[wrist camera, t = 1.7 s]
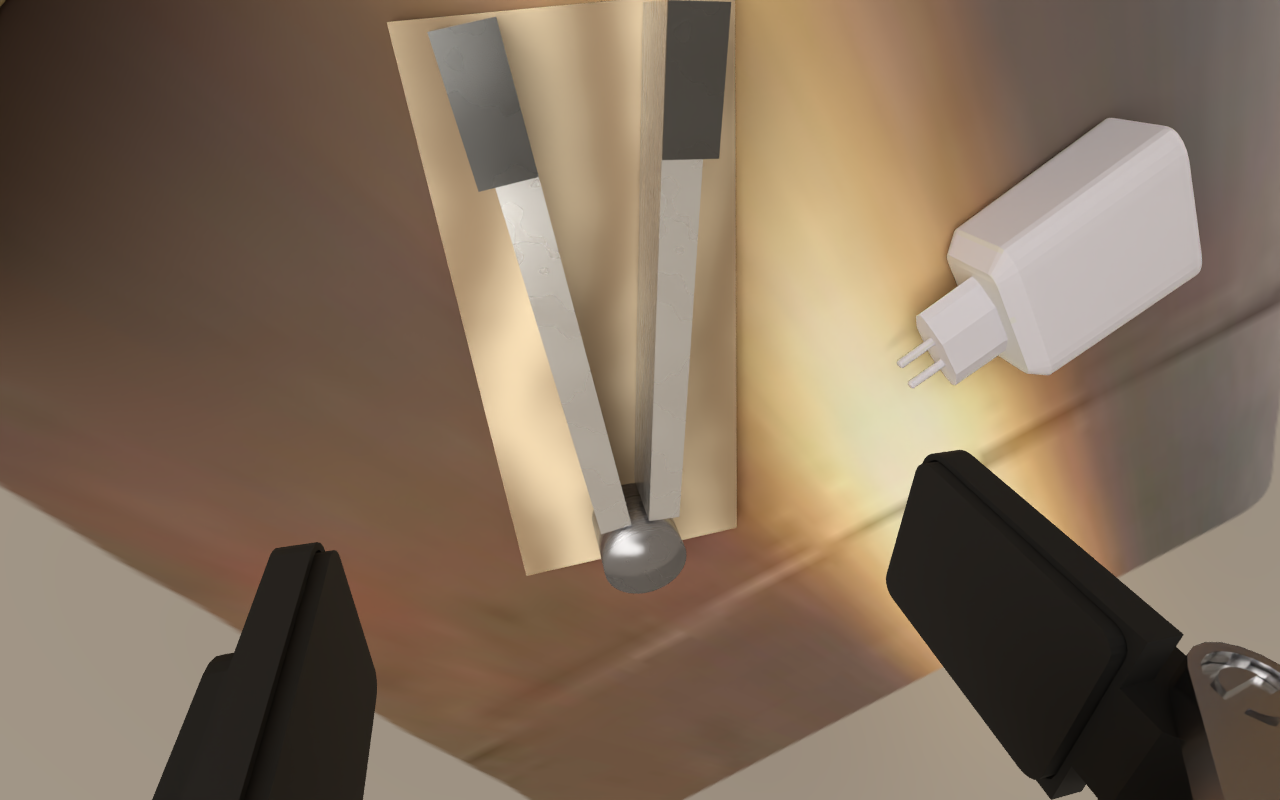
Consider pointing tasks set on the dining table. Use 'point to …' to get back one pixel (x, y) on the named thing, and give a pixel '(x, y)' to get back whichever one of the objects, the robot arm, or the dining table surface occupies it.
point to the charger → (1066, 255)
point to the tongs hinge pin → (640, 549)
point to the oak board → (579, 266)
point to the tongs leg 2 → (672, 225)
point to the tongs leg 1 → (528, 237)
